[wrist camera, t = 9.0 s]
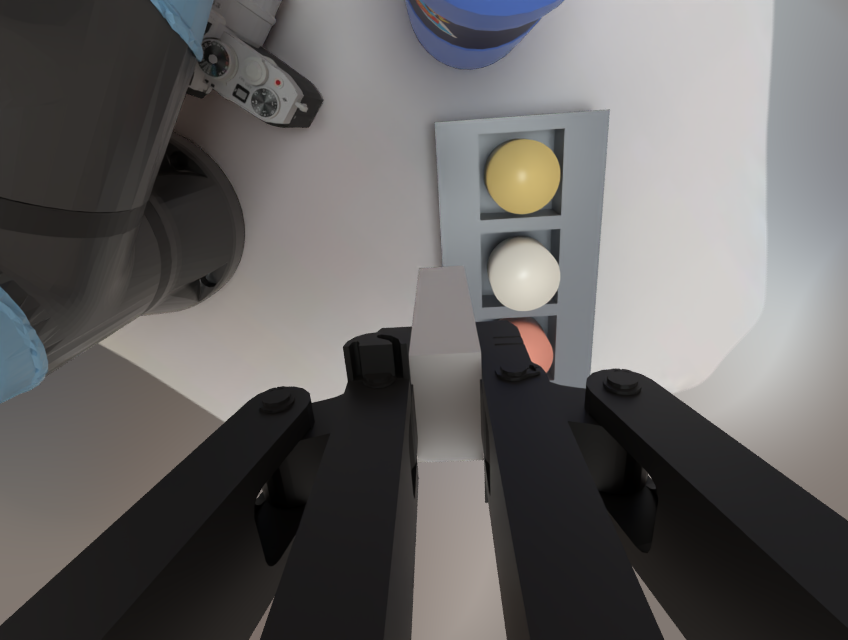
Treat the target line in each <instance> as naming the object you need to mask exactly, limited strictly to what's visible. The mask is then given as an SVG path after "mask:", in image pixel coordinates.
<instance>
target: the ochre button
mask: <svg viewBox="0 0 848 640" xmlns="http://www.w3.org/2000/svg"><path fill="white" fill-rule="evenodd" d="M484 182H485V186H486V189H487V191H488V193H489V194H490V196H491V197H492V198H493V199H494V201H495V202H496V203H497V204H498V205H499V206H500V207H501V208H503V209H504V210H506V211H508V212H511V213H514V214H528V213H532V212H535V211H537V210H539V209H541V208H542V207H544V206H545V205H546V204H547V203H548V202H549V201H550V200H551V199H552V198H553V196H554V195H555V193H556V191H557V189H558V186H559V182H560V166H559V162H558V160H557V158H556V156H555V154H554V153H553V152H552V150H551V149H550V148H549V147H547V146H546V145H544V144H543V143H541V142H538V141H535V140H529V139H512V140H508V141H506V142H504V143H502V144H500V145H499V146H498V147H496V148H495V149H494V150H493V152H492V153H491V154H490V156H489V157H488V159H487V162H486V164H485V168H484Z"/></svg>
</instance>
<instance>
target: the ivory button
mask: <svg viewBox="0 0 848 640" xmlns="http://www.w3.org/2000/svg"><path fill="white" fill-rule="evenodd" d="M487 274H488V278H489V281H490V284H491V287H492V289H493V292H494V294H495V296H496V298H497V299H498V300H499V301H500V302H501V303H502V304H503V305H504V306H506V307H508V308H510V309H512V310H516V311H530V310H534V309H537V308H539V307H541V306H543V305H545V304H546V303H547V302H548V301H550V299H551V298H552V297H553V296H554V295H555V293H556V291H557V289H558V287H559V283H560V269H559V265H558V263H557V261H556V260H555V258H554V257H553V256H552V255H551V253H550V252H549V251H548V250H547V249H546V248H545V247H544V246H543V245H542V244H541V243H540V242H539V241H537V240H536V239H533V238H531V237H527V236H514V237H510V238H508V239H506V240H504V241H502V242H501V243H499V244H498V245H497V246H496V247H495V248H494V249H493V251H492V252H491V254H490V256H489V259H488V263H487Z"/></svg>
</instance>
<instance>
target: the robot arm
mask: <svg viewBox="0 0 848 640" xmlns="http://www.w3.org/2000/svg"><path fill="white" fill-rule="evenodd" d="M213 1H214V0H0V403H2V402H5V401H7V400H9V399H11V398H13V397H15V396H17V395H19V394H21V393H24V392H27V391H30V390H31V389H33V388H34V387H36V386H38V385H39V384H40V382H41V381H43V380H44V378H45V377H46V376H48V375H49V374H51V373H52V372H54V371H55V370H57V369H59V368H60V367H62V366H63V365H65V364H66V363H68V362H69V361H71V360H72V359H74V358H76V357H77V356H79V355H80V354H81V353H83V352H85V351H86V350H88V349H90V348H91V347H93V346H94V345H96V344H97V343H99V342H100V341H102V340H104V339H105V338H107V337H108V336H110V335H111V334H113V333H114V332H116V331H118V330H119V329H121V328H122V327H124V326H125V325H127V324H128V323H130V322H131V321H133V320H135V319H136V318H137V317H139V316H143V315H151V314H160V313H169V312H176V311H181V310H184V309H187V308H190V307H193V306H195V305H197V304H199V303H201V302H203V301H204V300H206V299H207V298H209V297H210V296H211V295H213V294H214V293H216V292H217V291H218V290H219V289H221V288H222V287H223V286H224V285H225V284H226V283H227V282H228V281H229V279H230V278H231V277H232V275H233V274H234V272H235V270H236V268H237V266H238V264H239V262H240V259H241V256H242V252H243V247H244V221H243V215H242V211H241V207H240V204H239V201H238V199H237V196H236V194H235V192H234V190H233V188H232V186H231V184H230V182H229V181H228V179H227V177H226V176H225V174H224V173H223V172H222V170H221V169H220V168H219V167H218V165H217V164H216V163H215V162H214V161H213V160H212V159H211V158H210V157H209V156H208V155H207V154H206V153H205V152H204V151H202V150H201V149H200V148H199V147H197V146H196V145H195V144H193V143H192V142H190V141H189V140H187V139H185V138H184V137H182V136H180V135H178V134H176V133H173V132H172V131H173V128H174V126H175V123H176V120H177V117H178V114H179V111H180V109H181V106H182V103H183V100H184V97H185V94H186V92H187V89H188V86H189V83H190V80H191V77H192V75H193V72H194V69H195V66H196V63H197V61H198V62H201V60H202V58H203V49H202V46H201V44H202V40H203V36H204V33H205V29H206V26H207V22H208V19H209V15H210V11H211V8H212V4H213ZM343 351H344V358H345V365H346V371H347V378H348V383H347V386H346V389H345V392H344V394H342V395H340V396H337V397H334V398H331V399H327V400H323V401H318V402H314V403H311V398H310V394H309V392H307V391H306V390H305V389H303V388H298V387H285V386H282V387H277V388H276V387H275V388H272V389H269V390H267V391H265V392H263V393H260V394H258V395H256V396H255V397H254V398H252V399H251V400H249V401H248V402H247V403H246V404H245V405H244V406H242V407H241V408H240V409H239V410H238V411H237V412H236V413H235V414H234V415H232V416H231V417H230V418H229V419H228V420H227V421H226V422H225V423H224V424H223V425H221V426H220V427H219V428H218V429H217V430H216V431H215V432H214V433H213V434H212V435H210V436H209V437H208V438H207V439H206V440H205V441H204V442H203V443H202V444H200V445H199V446H198V447H197V448H196V449H195V450H194V451H193V452H192V453H191V454H189V455H188V456H187V457H186V458H185V459H184V460H183V461H182V462H181V463H179V464H178V465H177V466H176V467H175V468H174V469H173V470H172V471H171V472H170V473H169V474H167V475H166V476H165V477H164V478H163V479H162V480H161V481H160V482H159V483H157V484H156V485H155V486H154V487H153V488H152V489H151V490H150V491H149V492H147V494H145V495H144V496H143V497H142V498H141V499H140V500H139V501H137V503H135V504H134V505H133V506H132V507H131V508H130V509H129V510H128V511H127V512H125V513H124V514H123V515H122V516H121V517H120V518H119V519H118V520H117V521H115V522H114V523H113V524H112V525H111V526H110V527H109V528H108V529H107V530H105V531H104V532H103V533H102V534H101V535H100V536H99V537H98V538H97V539H96V540H94V542H92V543H91V544H90V545H89V546H88V547H87V548H86V549H85V550H83V551H82V552H81V553H80V554H79V555H78V556H77V557H76V558H75V559H73V560H72V561H71V562H70V563H69V564H68V565H67V566H66V567H65V568H63V569H62V570H61V571H60V572H59V573H58V574H57V575H56V576H55V577H54V578H52V579H51V580H50V581H49V582H48V583H47V584H46V585H45V586H44V587H43V588H42V589H40V590H39V591H38V592H37V593H36V594H35V595H34V596H33V597H32V598H30V599H29V600H28V601H27V602H26V603H25V604H24V605H23V606H22V607H20V608H19V609H18V610H17V611H16V612H15V613H14V614H13V615H12V616H11V617H9V618H8V619H7V620H6V621H5V622H4V623H3V624H2V625H1V626H0V640H249V638H250V636H251V635H252V633H253V631H254V630H255V628H256V626H257V625H258V623H259V621H260V620H261V618H262V616H263V615H264V613H265V611H266V610H267V608H268V606H269V605H270V603H271V601H272V600H273V598H274V600H273V603H272V606H271V609H270V612H269V615H268V618H267V621H266V623H265V626H264V629H263V632H262V635H261V638H260V640H411V632H412V631H411V630H412V610H413V588H414V565H415V545H416V544H415V542H416V522H417V500H418V479H419V478H418V466H417V456H418V462H419V463H420V462H446V461H471V460H484V471H485V502H486V503H488V504H489V511H490V518H491V526H492V533H493V540H494V548H495V555H496V563H497V570H498V577H499V584H500V591H501V599H502V606H503V614H504V621H505V629H506V636H507V640H664V638H663V636H662V633H661V631H660V629H659V627H658V625H657V622H656V620H655V618H654V615H653V613H652V611H651V609H650V606H649V604H648V602H647V600H646V597H645V595H644V593H643V591H642V588H641V586H640V584H639V582H638V579H637V577H636V575H635V572H634V570H633V568H634V569H635V571H636V572H637V573H638V575H639V576H640V577H641V579H642V580H643V581H644V583H645V584H646V585H647V587H648V588H649V590H650V591H651V592H652V594H653V595H654V596H655V598H656V599H657V600H658V602H659V603H660V604H661V606H662V607H663V608H664V610H665V611H666V613H667V614H668V615H669V617H670V618H671V619H672V621H673V622H674V623H675V624H676V626H677V627H678V629H679V630H680V631H681V633H682V634H683V636H684V637H685V638H686V640H848V521H847V520H846V519H845V518H843V517H842V516H840V515H839V514H838V513H836V512H835V511H834V510H832V509H831V508H829V507H828V506H826V505H825V504H824V503H822V502H821V501H820V500H818V499H817V498H815V497H814V496H813V495H811V494H810V493H809V492H807V491H806V490H804V489H803V488H802V487H800V486H799V485H797V484H796V483H795V482H793V481H792V480H790V479H789V478H788V477H786V476H785V475H784V474H782V473H781V472H779V471H778V470H777V469H775V468H774V467H772V466H771V465H770V464H768V463H767V462H765V461H764V460H763V459H761V458H760V457H759V456H757V455H756V454H754V453H753V452H751V451H750V450H749V449H747V448H746V447H745V446H743V445H742V444H741V443H739V442H738V441H736V440H735V439H734V438H732V437H731V436H729V435H728V434H727V433H725V432H724V431H722V430H721V429H720V428H718V427H717V426H715V425H714V424H713V423H711V422H710V421H708V420H707V419H706V418H704V417H703V416H701V415H700V414H699V413H697V412H696V411H695V410H693V409H692V408H691V407H689V406H688V405H686V404H685V403H683V402H682V401H681V400H679V399H678V398H677V397H675V396H674V395H672V394H671V393H670V392H668V391H667V390H666V389H664V388H663V387H661V386H660V385H659V384H657V383H656V382H654V381H653V380H652V379H650V378H648V377H646V376H644V375H642V374H639V373H635V372H632V371H630V370H626V369H622V370H620V369H609V370H601V371H598V372H595V373H592V374H591V375H590V376H589V377H588V378H587V381H586V388H578V387H570V386H564V385H559V384H556V383H553V382H550V381H549V379H548V376H547V374H546V372H545V371H544V369H543V368H542V367H541V366H539V365H537V364H535V363H533V362H532V361H531V359H530V357H529V354H528V352H527V349H526V347H525V344H524V342H523V339H522V337H521V335H520V332H519V330H518V327H517V326H515V325H514V324H512V323H510V322H509V321H507V320H501V321H483V322H475V319H474V314H473V309H472V304H471V299H470V294H469V290H468V285H467V280H466V275H465V270H464V266H450V267H433V268H419V273H418V282H417V290H416V298H415V307H414V315H413V323H412V327H396V328H382V329H380V330H379V331H378V332H376V333H368V334H364V335H361V336H357V337H355V338H353V339H351V340H349V341H347V343H346V344H345V345H344V346H343ZM648 474H649V475H650V476H651V478H652V479H651V478H650V477H649V476H648ZM261 489H262V490H263V492H262V493H261V494H260V496H259V497H258V498H257V496H258V494H259V492H260V490H261ZM256 498H257V499H256ZM631 565H632V566H631ZM632 567H633V568H632ZM274 596H275V597H274Z"/></svg>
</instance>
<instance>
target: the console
mask: <svg viewBox="0 0 848 640" xmlns="http://www.w3.org/2000/svg"><path fill="white" fill-rule="evenodd" d="M609 113H610V109H609V110H595V111H582V112H568V113H555V114H541V115H527V116H514V117H500V118H487V119H473V120H460V121H446V122H435V138H436V156H437V174H438V193H439V211H440V229H441V247H442V266H443V267H450V266H464V270H465V275H466V280H467V285H468V290H469V294H470V299H471V304H472V309H473V314H474V319H475V322H483V321H499V320H500V319H502V318H515V317H531V318H533V319H534V320H536V321H537V322H538V323H539V324H540V326H541V327H542V329H543V331H544V333H545V335H546V337H547V339H548V340H549V342H550V344H551V346H552V350H553V361H552V364H551V367H550V368H549V370H548V371H547V373H546V374H547V376H548V379H549V381H550V382H553V383H556V384H559V385H564V386H570V387H578V388H586V381H587V378H588V377H589V376H590V370H591V357H592V343H593V330H594V316H595V303H596V289H597V276H598V262H599V248H600V235H601V221H602V208H603V194H604V181H605V167H606V154H607V140H608V127H609ZM512 139H529V140H535V141H538V142H541V143H543V144H544V145H546V146H547V147H549V148H550V149H551V150H552V152H553V153H554V154H555V156H556V158H557V160H558V162H559V166H560V182H559V186H558V189H557V191H556V193H555V195H554V196H553V198H552V199H551V200H550V201H549V202H548V203H547V204H546V205H545V206H544V207H542V208H541V209H539V210H537V211H535V212H532V213H528V214H514V213H511V212H508V211H506V210H504V209H503V208H501V207H500V206H499V205H498V204H497V203H496V202H495V201H494V199H493V198H492V197H491V196H490V194H489V193H488V191H487V189H486V186H485V182H484V168H485V164H486V162H487V159H488V157H489V156H490V154H491V153H492V152H493V150H494V149H495V148H496V147H498V146H499V145H500V144H502V143H504V142H506V141H508V140H512ZM514 236H527V237H531V238H533V239H536V240H537V241H539V242H540V243H541V244H542V245H543V246H544V247H545V248H546V249H547V250H548V251H549V252H550V253H551V255H552V256H553V257H554V258H555V260H556V261H557V263H558V265H559V269H560V283H559V287H558V289H557V291H556V293H555V295H554V296H553V297H552V298H551V299H550V301H548V302H547V303H546V304H545V305H543V306H541V307H539V308H537V309H534V310H530V311H516V310H512V309H510V308H508V307H506V306H504V305H503V304H502V303H501V302H500V301H499V300H498V299H497V298H496V296H495V294H494V292H493V289H492V287H491V284H490V281H489V278H488V274H487V263H488V259H489V256H490V254H491V252H492V251H493V249H494V248H495V247H496V246H497V245H498V244H499V243H501V242H502V241H504V240H506V239H508V238H510V237H514Z"/></svg>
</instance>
